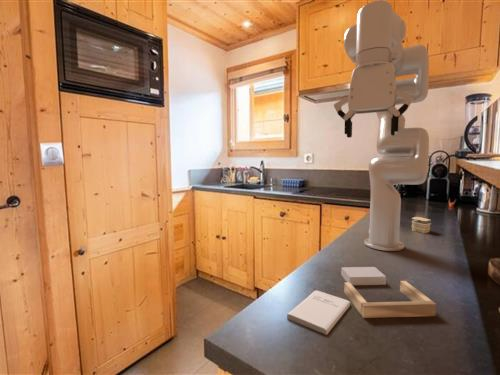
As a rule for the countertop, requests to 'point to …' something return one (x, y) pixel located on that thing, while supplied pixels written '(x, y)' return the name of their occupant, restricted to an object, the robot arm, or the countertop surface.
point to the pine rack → (393, 303)
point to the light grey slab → (363, 275)
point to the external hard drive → (319, 311)
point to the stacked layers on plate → (420, 225)
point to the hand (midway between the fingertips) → (370, 136)
